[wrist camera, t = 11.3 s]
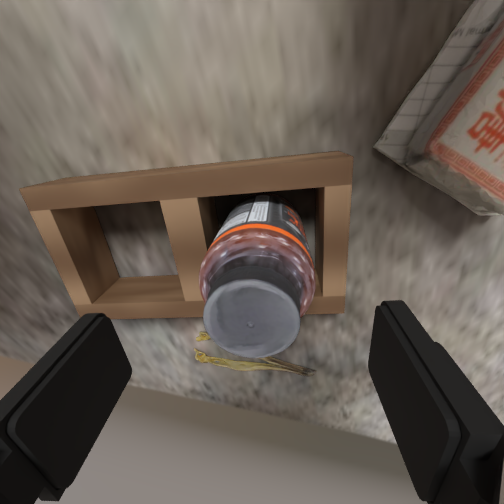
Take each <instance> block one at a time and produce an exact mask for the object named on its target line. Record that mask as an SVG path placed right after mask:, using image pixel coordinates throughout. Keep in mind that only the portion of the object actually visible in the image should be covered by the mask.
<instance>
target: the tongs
mask: <svg viewBox="0 0 504 504" xmlns="http://www.w3.org/2000/svg"><path fill="white" fill-rule="evenodd" d="M199 335H200V336H199V337H197V338H196V340H197V341H201V340H209V339H211V338H210V336H209V335H208V333H206V332H200V333H199ZM204 335H206V336H204ZM194 350H195V351H196V355H195V358H196V359H197V360H199V361H200V362H201V363H208V362H209V363H212V364H215V365H216V366H223V367H227V368H230V369H234V370H241V371H254V370H279V371H287V372H292V373H296V374H299V375H302V376H312V375H314V374H315V372H316V371H315V370H311V369H308V368H304V367H301V366H297V365H294V364H290V363H287V362H284V361H281V360H278V359H276V358H273V357H271V356H268V357H265V358H259V359H262V360H264V361H267V362H269V363H272V364H265V363H255V362H246V361H233V360H229V359H223V358H215V357H209V356H206V355H205V353H203V352H200V351H198V350H197V349H195V348H194ZM198 354H202V355H201V356H199V355H198ZM215 361H220V362H219V363H216V362H215ZM273 364H276V365H273Z"/></svg>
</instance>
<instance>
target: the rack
mask: <svg viewBox="0 0 504 504" xmlns="http://www.w3.org/2000/svg"><path fill="white" fill-rule="evenodd" d="M353 158H354V157H353V156H351V155H348V154H345V153H342V152H340V151H331V152H321V153H311V154H301V155H291V156H281V157H271V158H261V159H251V160H241V161H231V162H220V163H210V164H200V165H190V166H180V167H170V168H160V169H150V170H140V171H130V172H120V173H110V174H99V175H89V176H79V177H69V178H62V179H58V180H54V181H50V182H45V183H41V184H37V185H32V186H28V187H24V188H20V189H19V190H20V192H21V194H22V196H23V199H24V201H25V203H26V205H27V207H28V209H29V211H30V213H31V215H32V217H33V220H34V222H35V224H36V226H37V228H38V230H39V232H40V234H41V236H42V238H43V240H44V243H45V245H46V247H47V249H48V251H49V253H50V255H51V257H52V259H53V261H54V263H55V266H56V268H57V270H58V272H59V274H60V276H61V278H62V280H63V282H64V284H65V286H66V289H67V291H68V293H69V295H70V297H71V299H72V301H73V303H74V305H75V307H76V309H77V312H78V314H79V316H80V318H81V317H82V316H83V315H84V314H87V313H104V314H105V315H106V316H107V317H109V318H110V319H139V318H179V317H203V312H204V307H205V303H204V301H203V298H202V296H201V293H200V289H199V271H200V267H201V264H202V261H203V259H204V257H205V255H206V253H207V251H208V249H209V247H210V246H211V244H212V242H213V241H214V239H215V237H216V236H217V234H218V232H219V225H218V219H217V213H216V207H215V201H214V196H221V195H233V194H245V193H257V192H269V191H281V190H293V189H305V188H315V269H314V271H315V278H316V288H315V294H314V297H313V300H312V302H311V304H310V306H309V308H308V310H307V311H306V312H305V314H338V313H344V308H345V291H346V274H347V258H348V241H349V224H350V208H351V191H352V174H353ZM149 201H160V204H161V208H162V212H163V216H164V220H165V224H166V228H167V232H168V235H169V239H170V243H171V247H172V251H173V255H174V259H175V263H176V267H177V271H178V275H167V276H146V277H124V278H120V277H119V274H118V272H117V269H116V266H115V263H114V261H113V258H112V255H111V253H110V250H109V247H108V244H107V242H106V239H105V236H104V234H103V231H102V228H101V225H100V223H99V220H98V217H97V214H96V212H95V209H94V206H101V205H113V204H125V203H137V202H149Z"/></svg>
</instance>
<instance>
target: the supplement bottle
mask: <svg viewBox="0 0 504 504" xmlns="http://www.w3.org/2000/svg"><path fill="white" fill-rule="evenodd" d="M315 288H316V278H315V271H314V266H313V261H312V257H311V254H310V250H309V247H308V243H307V240H306V235H305V231H304V227H303V224H302V220H301V218H300V216H299V214H298V212H297V211H296V209H295V208H294V207H293V206H292V205H291V204H290V203H289V202H288V201H287V200H285V199H283V198H282V197H280V196H277V195H274V194H268V193H260V194H254V195H250V196H248V197H246V198H244V199H243V200H241V201H240V202H239V203H237V205H236V206H235V207H234V208H233V209H232V211H231V212H230V214H229V215H228V217H227V219H226V220H225V222H224V224H223V225H222V227H221V229H220V230H219V232H218V234H217V236H216V237H215V239H214V241H213V242H212V244H211V246H210V247H209V249H208V251H207V253H206V255H205V257H204V259H203V261H202V264H201V267H200V271H199V289H200V293H201V296H202V298H203V301H204V303H205V307H204V312H203V321H204V326H205V329H206V331H207V333H208V335H209V336H210V338H211V339H212V340H213V341H214V342H215V343H216V344H217V345H218V346H220V347H221V348H222V349H224V350H226V351H228V352H229V353H232V354H234V355H238V356H242V357H247V358H265V357H268V356H272V355H275V354H278V353H279V352H282V351H283V350H285V349H286V348H287V347H289V346H290V345H291V343H293V341H294V340H295V339H296V337H297V335H298V332H299V329H300V318H301V317H302V316H303V315H304V314H305V312H306V311H307V310H308V308H309V306H310V304H311V302H312V300H313V297H314V294H315Z"/></svg>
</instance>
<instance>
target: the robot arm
mask: <svg viewBox="0 0 504 504" xmlns="http://www.w3.org/2000/svg"><path fill="white" fill-rule="evenodd" d="M368 368H369V373H370V376H371V378H372V381H373V383H374V386H375V388H376V391H377V393H378V396H379V398H380V401H381V404H382V406H383V409H384V411H385V414H386V416H387V419H388V421H389V424H390V426H391V429H392V432H393V434H394V437H395V439H396V442H397V444H398V447H399V449H400V452H401V454H402V457H403V460H404V462H405V465H406V467H407V470H408V472H409V475H410V477H411V480H412V482H413V485H414V487H415V490H416V492H417V494H418V496H419V498H420V499H421V500H422V501H427V503H428V504H504V425H503V424H502V423H501V422H500V420H499V419H498V418H497V416H496V415H495V414H494V412H493V411H492V410H491V408H490V407H489V406H488V405H487V403H486V402H485V401H484V399H483V398H482V397H481V395H480V394H479V393H478V392H477V390H476V389H475V388H474V386H473V385H472V384H471V382H470V381H469V380H468V378H467V377H466V376H465V375H464V373H463V372H462V371H461V369H460V368H459V367H458V365H457V364H456V363H455V362H454V360H453V359H452V358H451V356H450V355H449V354H448V352H447V351H446V350H445V349H444V347H443V346H442V345H441V344H439V343H437V342H434V341H433V340H432V339H431V337H430V336H429V335H428V333H427V332H426V331H425V329H424V328H423V327H422V325H421V324H420V323H419V321H418V320H417V318H416V317H415V316H414V314H413V313H412V312H411V310H410V309H409V308H408V306H407V305H406V304H405V302H404V301H402V300H396V301H383V302H382V303H381V306H376V309H375V316H374V324H373V331H372V339H371V346H370V354H369V361H368ZM131 374H132V367H131V365H130V363H129V360H128V358H127V356H126V354H125V351H124V349H123V347H122V344H121V342H120V340H119V338H118V335H117V333H116V331H115V329H114V326H113V324H112V322H111V320H110V318H109V317H107V316H106V315H105V314H104V313H87V314H84V315H83V316H82V317H81V318H80V319H79V320H78V321H77V322H76V323H75V324H74V325H73V326H72V327H71V328H70V329H69V330H68V331H67V332H66V333H65V334H64V335H63V336H62V337H61V339H60V340H59V341H58V342H57V343H56V344H55V345H54V346H53V347H52V348H51V349H50V350H49V351H48V352H47V353H46V354H45V355H44V356H43V357H42V358H41V359H40V360H39V361H38V362H37V363H36V364H35V365H34V366H33V367H32V368H31V369H30V370H29V371H28V373H27V374H26V375H25V376H24V377H23V378H22V379H21V380H20V381H19V382H18V383H17V384H16V385H15V386H14V387H13V388H12V389H11V390H10V391H9V392H8V393H7V394H6V395H5V396H4V397H3V398H2V399H1V400H0V504H34V503H35V501H36V500H37V498H38V497H39V499H40V500H42V501H59V500H60V498H61V496H62V494H63V493H64V491H65V489H66V488H68V487H69V486H70V485H71V484H72V483H73V481H74V479H75V478H76V476H77V474H78V472H79V470H80V468H81V467H82V465H83V463H84V461H85V459H86V458H87V456H88V454H89V452H90V450H91V448H92V447H93V445H94V443H95V441H96V439H97V438H98V436H99V434H100V432H101V430H102V428H103V427H104V425H105V423H106V421H107V419H108V418H109V416H110V414H111V412H112V410H113V408H114V407H115V405H116V403H117V401H118V399H119V397H120V396H121V394H122V392H123V390H124V388H125V387H126V385H127V383H128V381H129V379H130V377H131Z"/></svg>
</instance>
